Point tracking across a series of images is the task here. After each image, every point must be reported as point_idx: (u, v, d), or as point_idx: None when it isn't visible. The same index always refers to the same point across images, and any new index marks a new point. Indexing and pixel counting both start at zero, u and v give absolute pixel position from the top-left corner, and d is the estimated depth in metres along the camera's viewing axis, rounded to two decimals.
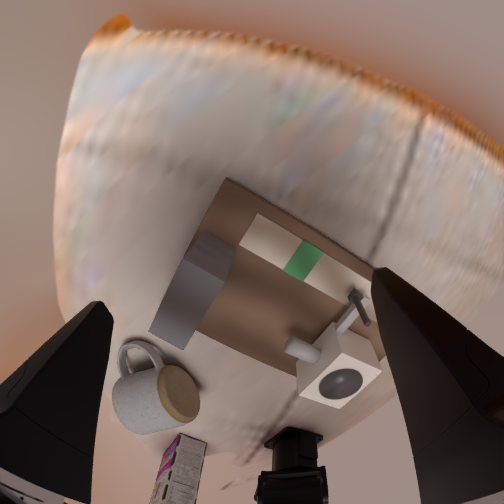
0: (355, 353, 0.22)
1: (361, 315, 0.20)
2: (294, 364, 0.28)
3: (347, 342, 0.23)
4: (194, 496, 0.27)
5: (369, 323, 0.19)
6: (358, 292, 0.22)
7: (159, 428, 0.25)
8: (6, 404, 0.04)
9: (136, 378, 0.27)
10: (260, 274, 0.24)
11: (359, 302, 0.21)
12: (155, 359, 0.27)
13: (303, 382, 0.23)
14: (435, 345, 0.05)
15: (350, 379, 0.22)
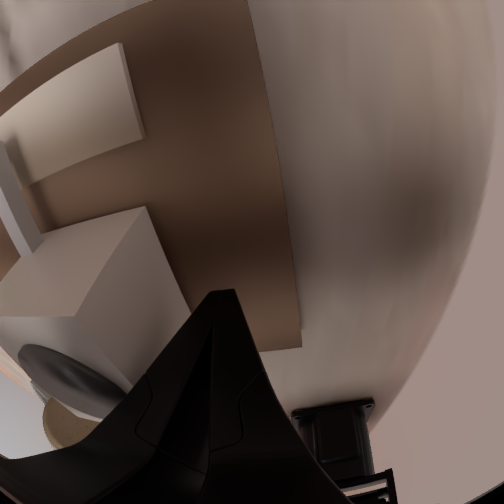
0: (13, 295, 0.06)
1: None
2: None
3: (24, 269, 0.07)
4: None
5: None
6: None
7: None
8: (141, 447, 0.04)
9: None
10: None
11: None
12: (42, 391, 0.17)
13: None
14: (214, 379, 0.05)
15: (58, 374, 0.06)
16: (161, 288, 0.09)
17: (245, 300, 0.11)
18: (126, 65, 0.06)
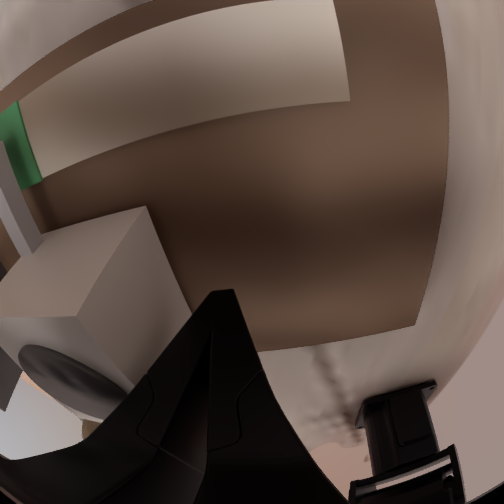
0: (13, 295, 0.05)
1: None
2: None
3: (24, 269, 0.07)
4: None
5: None
6: None
7: None
8: (143, 447, 0.04)
9: None
10: None
11: None
12: None
13: None
14: (213, 379, 0.05)
15: (58, 374, 0.06)
16: (162, 289, 0.09)
17: (389, 278, 0.10)
18: (334, 22, 0.05)
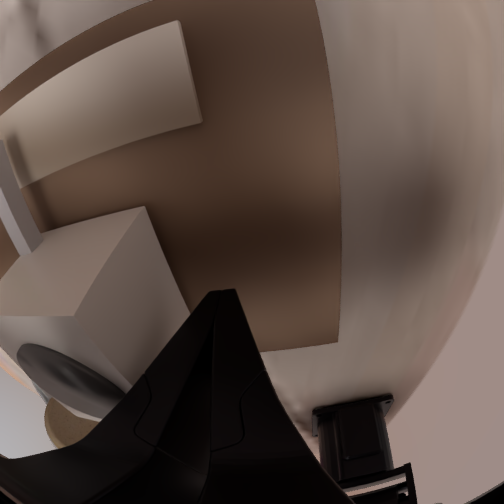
0: (12, 294, 0.06)
1: None
2: None
3: (23, 268, 0.07)
4: None
5: None
6: None
7: None
8: (140, 447, 0.04)
9: None
10: None
11: None
12: None
13: None
14: (215, 379, 0.05)
15: (57, 374, 0.06)
16: (160, 288, 0.09)
17: (289, 295, 0.10)
18: (184, 44, 0.06)
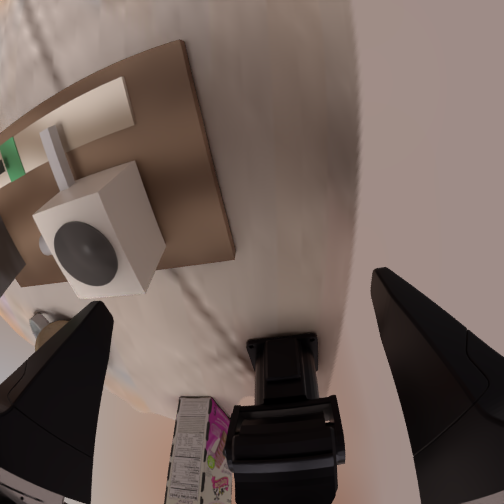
0: (60, 200, 0.12)
1: None
2: None
3: (64, 193, 0.13)
4: (201, 469, 0.24)
5: None
6: None
7: None
8: (6, 404, 0.04)
9: None
10: (12, 200, 0.16)
11: None
12: (38, 324, 0.23)
13: None
14: (435, 345, 0.05)
15: (78, 240, 0.12)
16: (140, 204, 0.15)
17: (191, 219, 0.17)
18: (126, 87, 0.12)
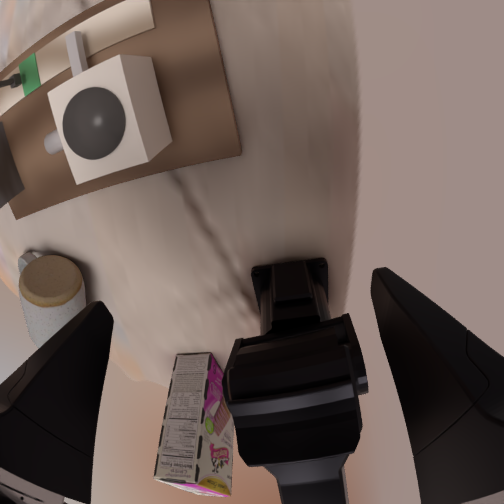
0: None
1: None
2: None
3: None
4: (197, 432, 0.23)
5: None
6: None
7: (49, 330, 0.20)
8: (6, 404, 0.04)
9: None
10: (22, 117, 0.15)
11: (2, 81, 0.11)
12: (26, 260, 0.22)
13: None
14: (435, 345, 0.05)
15: (89, 105, 0.11)
16: (152, 90, 0.14)
17: (200, 112, 0.16)
18: (150, 0, 0.11)
